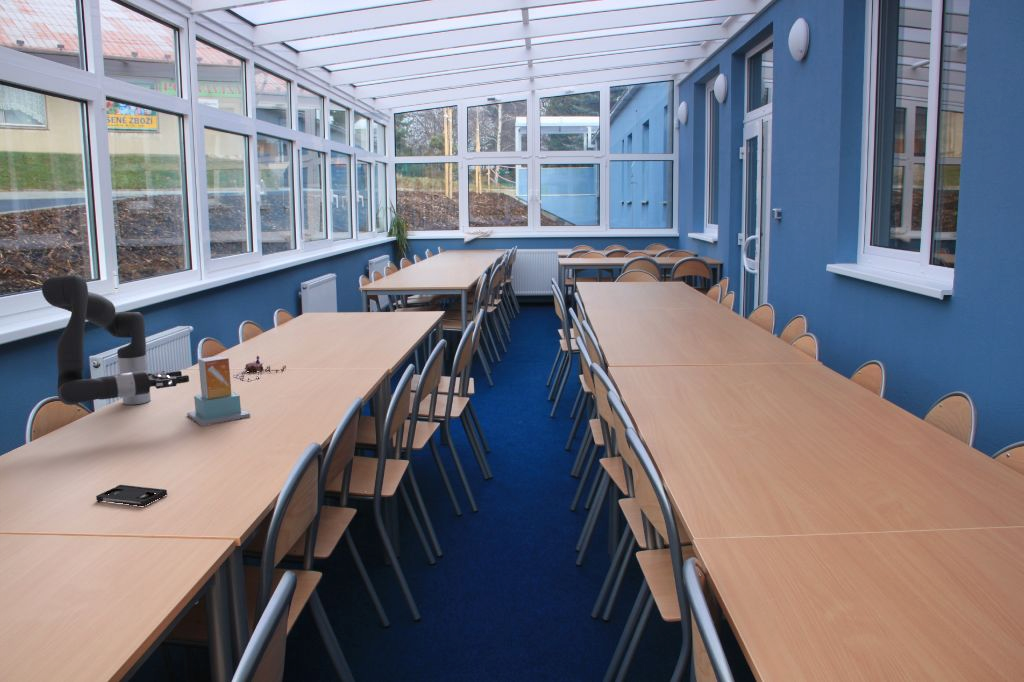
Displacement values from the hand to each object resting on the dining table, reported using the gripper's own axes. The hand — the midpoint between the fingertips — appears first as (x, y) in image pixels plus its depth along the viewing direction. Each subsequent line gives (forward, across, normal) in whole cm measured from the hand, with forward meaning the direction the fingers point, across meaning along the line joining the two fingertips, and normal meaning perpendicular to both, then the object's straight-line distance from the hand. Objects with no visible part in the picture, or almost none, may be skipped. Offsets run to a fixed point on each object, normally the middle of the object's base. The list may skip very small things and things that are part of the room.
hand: (184, 376), depth 250 cm
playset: (+43, +54, +16) cm, 71 cm away
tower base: (+10, 0, +16) cm, 18 cm away
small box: (+10, 0, +8) cm, 13 cm away
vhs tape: (-30, -61, +16) cm, 70 cm away
